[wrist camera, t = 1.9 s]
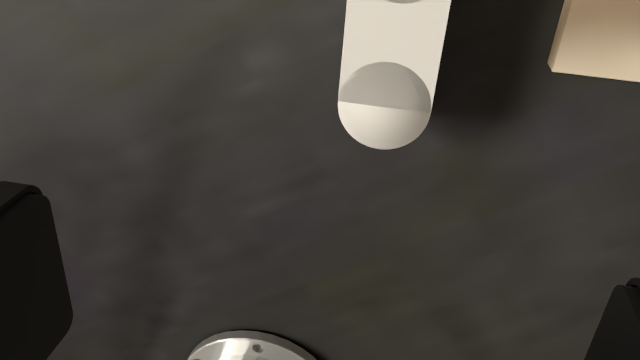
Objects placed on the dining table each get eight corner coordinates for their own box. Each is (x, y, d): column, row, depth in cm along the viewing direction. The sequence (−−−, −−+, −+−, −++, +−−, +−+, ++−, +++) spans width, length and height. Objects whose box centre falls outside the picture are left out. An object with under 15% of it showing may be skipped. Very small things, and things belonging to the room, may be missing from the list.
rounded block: (425, 112, 32) (423, 155, 27) (348, 102, 33) (334, 142, 28) (464, -112, 27) (470, -107, 22) (371, -120, 27) (357, -116, 22)
